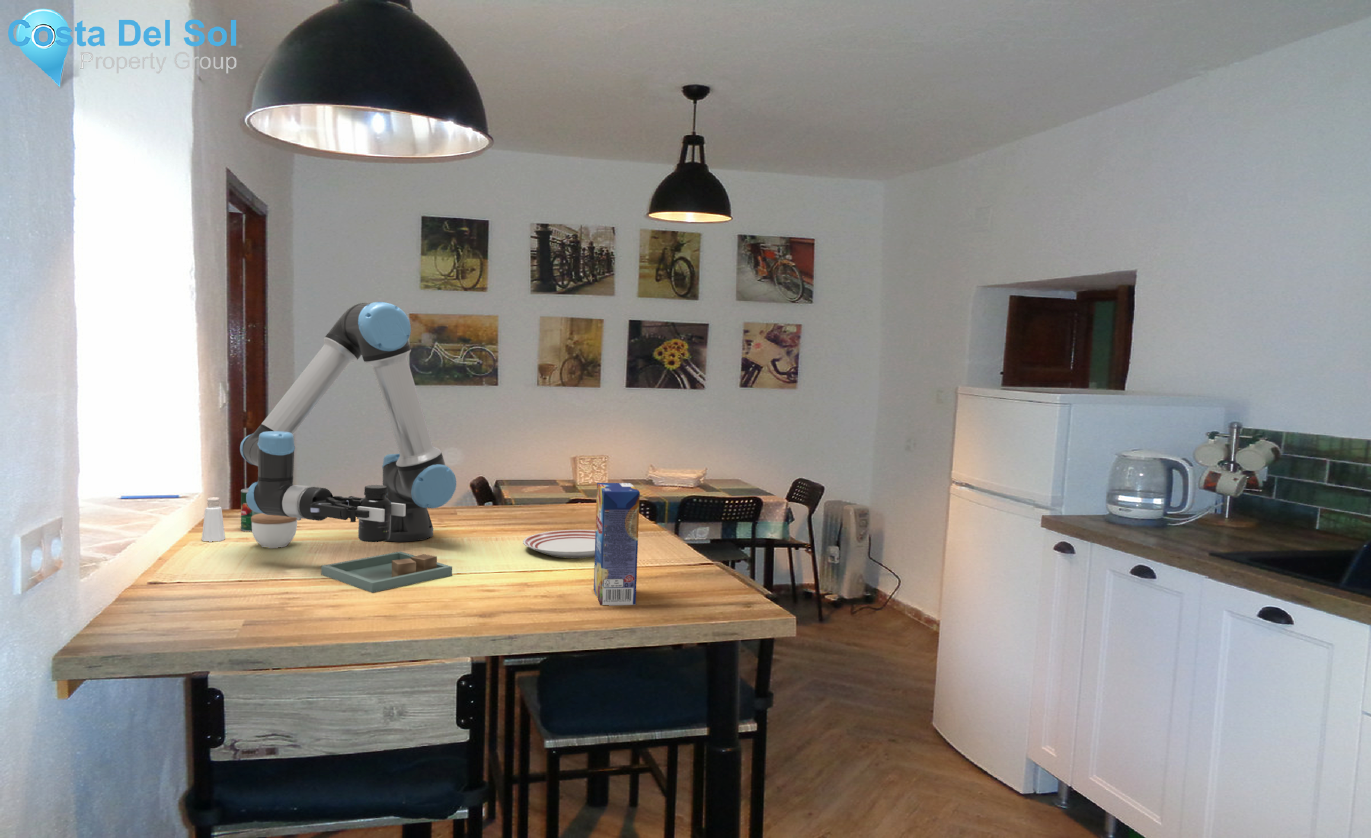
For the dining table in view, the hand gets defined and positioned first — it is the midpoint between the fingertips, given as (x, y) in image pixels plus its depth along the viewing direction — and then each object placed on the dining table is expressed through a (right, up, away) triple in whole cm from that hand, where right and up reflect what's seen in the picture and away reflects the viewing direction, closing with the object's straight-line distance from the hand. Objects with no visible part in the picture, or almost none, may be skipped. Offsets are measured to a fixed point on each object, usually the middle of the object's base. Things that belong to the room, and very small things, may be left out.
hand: (394, 512), depth 190 cm
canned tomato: (-54, -10, +47) cm, 72 cm away
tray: (-2, -15, +2) cm, 15 cm away
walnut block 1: (+3, -14, -1) cm, 15 cm away
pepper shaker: (-58, -11, +32) cm, 67 cm away
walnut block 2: (+6, -14, +3) cm, 16 cm away
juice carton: (+49, -18, -5) cm, 53 cm away
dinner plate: (+35, -14, +37) cm, 53 cm away
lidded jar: (-40, -12, +29) cm, 51 cm away
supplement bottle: (-5, -6, +2) cm, 8 cm away
